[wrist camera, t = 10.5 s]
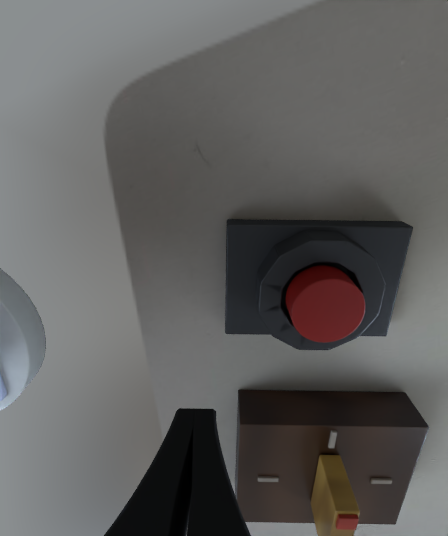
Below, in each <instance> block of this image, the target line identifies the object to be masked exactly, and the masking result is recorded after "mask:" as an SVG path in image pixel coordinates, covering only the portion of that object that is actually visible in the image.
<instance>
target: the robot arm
mask: <svg viewBox="0 0 448 536" xmlns="http://www.w3.org/2000/svg"><path fill="white" fill-rule="evenodd" d="M6 395H7V391H6V388H5V385H4V382H3V379H2V376H1V373H0V401H2V400H3V399H4V398H5V397H6ZM187 527H188V529H187ZM186 533H187V536H251V535H250V533H249V530H248V528H247V525H246V523H245V520H244V518H243V515H242V513H241V510H240V508H239V505H238V502H237V500H236V497H235V494H234V491H233V488H232V485H231V482H230V479H229V476H228V472H227V469H226V465H225V462H224V458H223V454H222V451H221V446H220V442H219V437H218V431H217V423H216V411H215V410H214V409H183V408H179V409H178V410H177V411H176V413H175V416H174V419H173V421H172V424H171V426H170V428H169V430H168V433H167V435H166V437H165V439H164V441H163V443H162V445H161V447H160V449H159V451H158V453H157V455H156V456H155V458H154V460H153V462H152V464H151V465H150V467H149V469H148V470H147V472H146V474H145V475H144V477H143V479H142V480H141V482H140V484H139V485H138V487H137V489H136V490H135V492H134V493H133V495H132V497H131V498H130V500H129V501H128V503H127V504H126V506H125V507H124V509H123V510H122V512H121V513H120V514H119V516H118V517H117V519H116V520H115V522H114V523H113V524H112V526H111V527H110V528H109V530H108V531H107V532H106V534H105V535H104V536H186Z"/></svg>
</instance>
